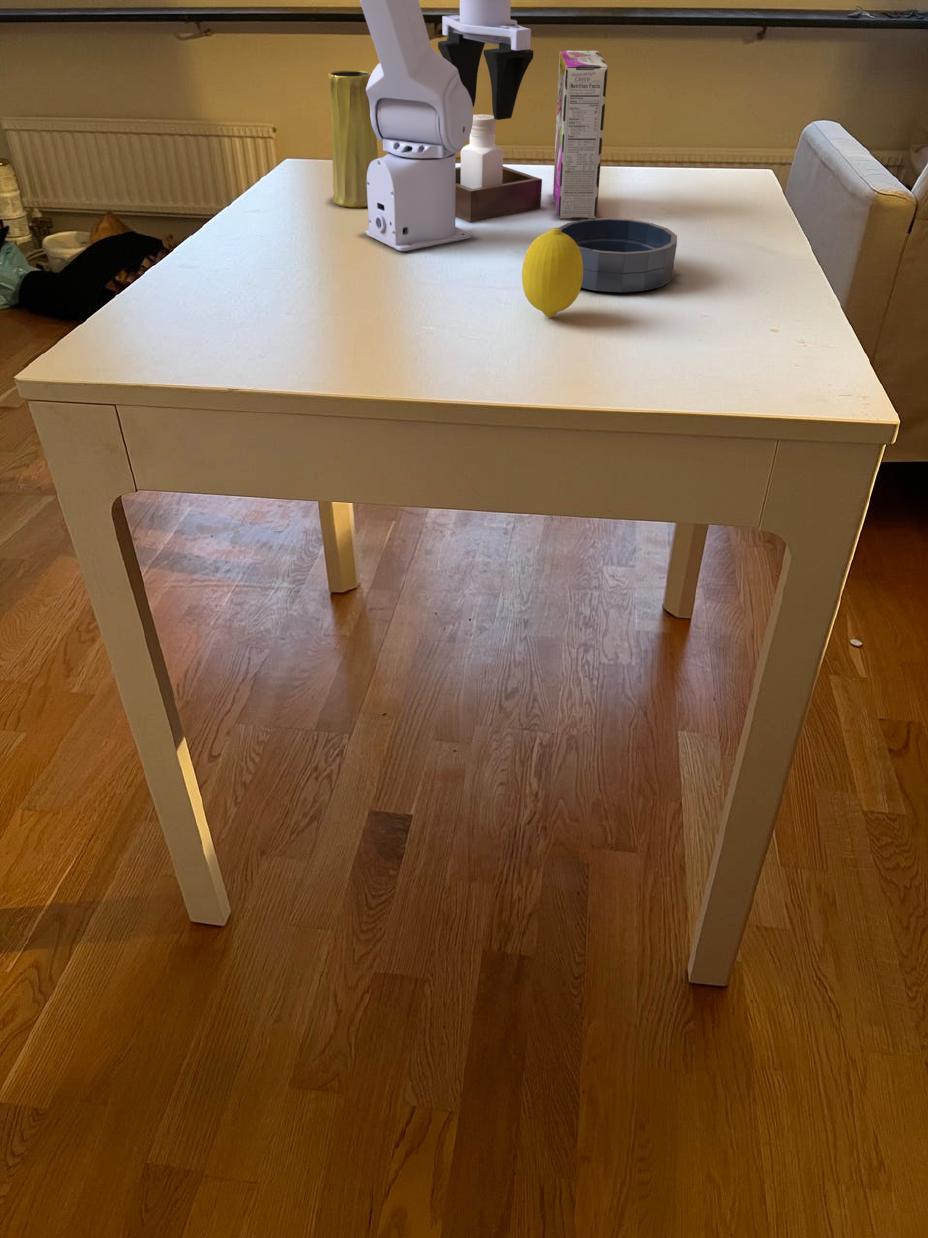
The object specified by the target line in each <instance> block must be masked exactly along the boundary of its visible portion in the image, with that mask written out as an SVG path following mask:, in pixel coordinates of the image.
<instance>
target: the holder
mask: <svg viewBox="0 0 928 1238" xmlns="http://www.w3.org/2000/svg"><path fill="white" fill-rule="evenodd" d="M460 183H461V166H457V167H456V176H455V217H457V218H459V219H461V220H464V221H466V222H469V223H475V222H476V223H477V222H480V221H485V220H492V219H496V218H501V217H506V216H507V217H508V216H512V215H516V214H523V213H527V212H532V211H538V210H541V207H542V190H543V179H542V178H540V177H537V176H534V175H531V174H528V173H525V172H522V171H519V170H516V169H512V168H510V167H507V166H504V165H503V175H502V184H500V185H494V186H488V187H482V188H476V189H471V188H468V187H466V186H463V185H460Z"/></svg>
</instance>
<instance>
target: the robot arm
mask: <svg viewBox="0 0 928 1238" xmlns="http://www.w3.org/2000/svg"><path fill="white" fill-rule="evenodd" d="M419 1H420V0H359V3H360V6H361V9H362V12H363V16H364V19H365V21H366V25H367V28H368V31H369V34H370V36H371V37H370V38H371V40H372V42H373V45H374V49H375V52H376V54H377V58H378V61H379V62H378V64H377V65H375V67H374V69H373V70H372V72H371V73H372V74H371V76H370V78H369V81H368V84H367V87H366V93H367V95H368V98H369V103H370V118H371V124H372V127H373V130H374V132H375V134H376V138H377V140H378V141H379V142H381V143H382V151H383V152H388V153H386V154H385V155H384V156H382V157H378V159H375V160H373V161H372V162H371V163H370V165H369V167H368V171H367V201H368V207H367V217H368V218H367V219H368V229H366V230H365V235H366V236H368V237H370V238H373V239H374V240H376V241H378V242H381V243H383V244H384V245H387V246H388V247H391V248H393V249H395V250H397V251H399V252H407V251H412V250H417V249H422V248H428V247H432V246H437V245H442V244H447V243H453V242H457V241H462V240H467V239H471V238H472V234H471V232H468V231H466V230H463V229H461V228H459V227H457V226H456V216H455V176H456V168H457V167H456V165H457V164H456V157H457V155H456V154H457V153H459V152H461V149H462V148H463V147H464V146H466V145H465V144H466V143H467V142H468V140H469V139H470V133H471V129H472V124H473V115H474V107H475V104H476V99H477V87H478V86H477V85H478V75H479V68H480V62H481V58H482V54H483V56H484V60H485V62H486V64H487V69H488V74H489V79H490V88H491V105H492V106H491V107H492V108H491V109H492V113H493V116H494V119H496V121H500V120H501V121H502V120H508V119H512V116H513V113H514V109H515V105H516V101H517V97H518V93H519V91H520V88H521V84H522V82H523V78H524V76H525V73H526V71H527V70H528V68H529V66H530V64H531V63H532V61H533V59H534V50H533V49H531V40H532V39H531V38H532V29H531V28H528V27H524V26H522V25H519V24H518V21H517V20H516V19H511V9H512V8H511V7H512V5H511V4H512V0H459V15H458V14H455V15H454V14H453V15H443V16H442V20H441V22H442V23H441V24H442V25H441V26H442V27H441V28H442V36H446V40H440V41H437V49H438V51H439V53H438V52H437V51H436V50H434V48H433V47H432V45H431V41H430V37H429V33H428V30H427V26H426V22H425V19H424V16H423V11H422V8H421V5H420V2H419ZM486 44H489V45H495V46H498V48H490V49H489V48H488V49H484V48H485V45H486Z"/></svg>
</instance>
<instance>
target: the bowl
mask: <svg viewBox="0 0 928 1238" xmlns="http://www.w3.org/2000/svg"><path fill="white" fill-rule="evenodd" d="M557 228H558V229H559V230H560V231H561V232H562V233H564V234H566V235H568V236H569V237H571V238H572V239H573V240H574V241H575V243H576V244H577V245H578V247H579V249H580V252H581V256H582V261H583V280H582V286H581V289H586V290H592V291H596V292H604V293H605V292H606V293H633V292H644V291H645V292H646V291H649V290H653V289H657V288H661V287H663V286H665V285H666V284H667V283H669V282H670V281H672V280H673V275H674V266H675V261H676V253H677V252H676V251H677V245H678V235H677V234H676V233H675V232H674V231H672V230H671V229H669V228H668V227H665V226H661V225H659V224H656V223H654V222H648V221H642V220H636V219H630V218H617V217H616V218H615V217H603V218H602V217H600V218H598V217H597V218H596V219H584V220H575V221H571V222H567V223H565V224H563V225H561V226H559V227H557Z"/></svg>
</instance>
